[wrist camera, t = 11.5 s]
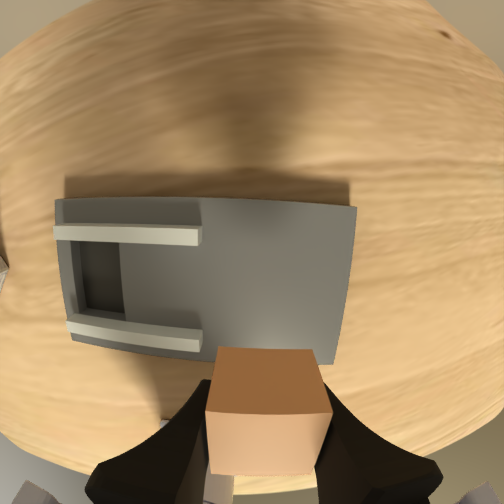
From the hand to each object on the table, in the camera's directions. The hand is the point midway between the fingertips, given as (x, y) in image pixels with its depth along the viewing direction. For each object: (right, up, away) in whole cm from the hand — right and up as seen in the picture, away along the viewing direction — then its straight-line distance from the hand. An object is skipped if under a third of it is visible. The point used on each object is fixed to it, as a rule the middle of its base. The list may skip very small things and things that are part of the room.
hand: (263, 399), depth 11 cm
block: (0, 0, +1) cm, 1 cm away
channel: (-5, +4, +9) cm, 11 cm away
